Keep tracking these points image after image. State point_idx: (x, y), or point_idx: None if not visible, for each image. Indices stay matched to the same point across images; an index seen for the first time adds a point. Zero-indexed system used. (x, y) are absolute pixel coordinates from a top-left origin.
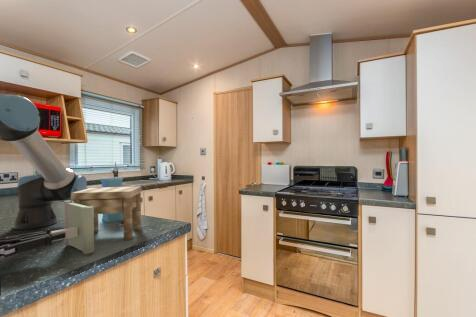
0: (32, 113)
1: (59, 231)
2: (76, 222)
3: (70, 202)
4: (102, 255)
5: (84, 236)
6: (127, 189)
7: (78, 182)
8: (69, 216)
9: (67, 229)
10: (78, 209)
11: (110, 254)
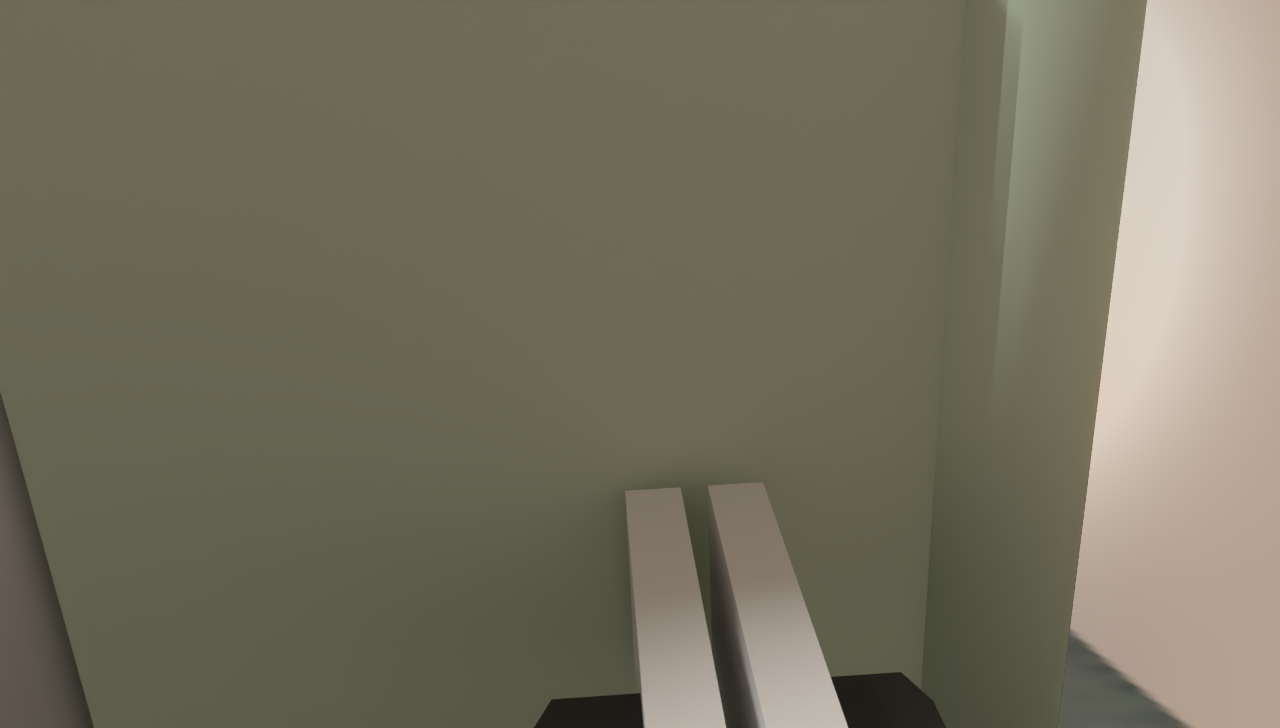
0: None
1: (836, 714)
2: (594, 405)
3: None
4: (1077, 715)
5: (1060, 558)
6: None
7: None
8: (154, 362)
9: (781, 590)
10: (711, 48)
11: (1088, 654)
